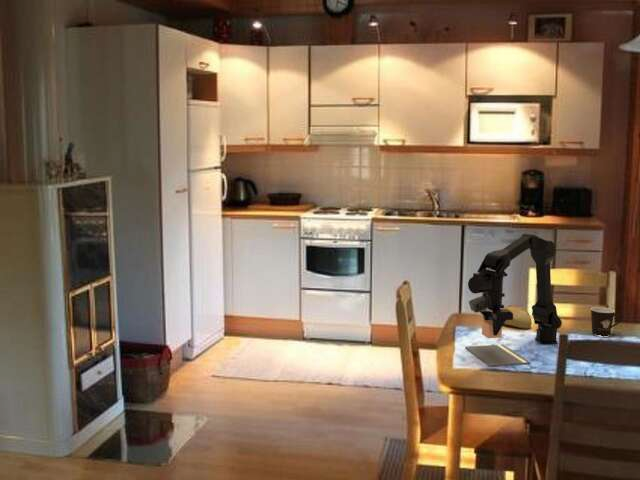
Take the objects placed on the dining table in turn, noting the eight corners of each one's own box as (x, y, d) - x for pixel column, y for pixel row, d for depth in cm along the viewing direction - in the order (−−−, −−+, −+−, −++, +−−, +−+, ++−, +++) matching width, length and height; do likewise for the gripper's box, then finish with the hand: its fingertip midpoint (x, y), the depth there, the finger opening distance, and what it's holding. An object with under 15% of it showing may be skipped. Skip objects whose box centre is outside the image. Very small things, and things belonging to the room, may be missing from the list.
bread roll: (499, 320, 302) (500, 301, 301) (535, 326, 294) (536, 307, 293) (491, 325, 294) (492, 306, 293) (527, 331, 286) (528, 312, 285)
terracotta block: (494, 333, 257) (495, 319, 256) (501, 337, 252) (502, 323, 251) (481, 334, 256) (482, 320, 255) (488, 338, 251) (488, 324, 250)
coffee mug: (588, 336, 281) (590, 311, 279) (589, 330, 289) (591, 306, 287) (621, 340, 276) (623, 314, 275) (621, 334, 284) (623, 309, 283)
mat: (502, 345, 267) (502, 344, 267) (530, 363, 248) (530, 361, 248) (465, 348, 264) (465, 346, 264) (490, 366, 245) (490, 364, 244)
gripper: (461, 284, 258) (459, 326, 261) (484, 297, 241) (482, 342, 243) (490, 283, 261) (487, 325, 264) (515, 295, 243) (512, 340, 246)
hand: (491, 333), depth 254 cm, fingers closed on terracotta block, 5 cm apart
